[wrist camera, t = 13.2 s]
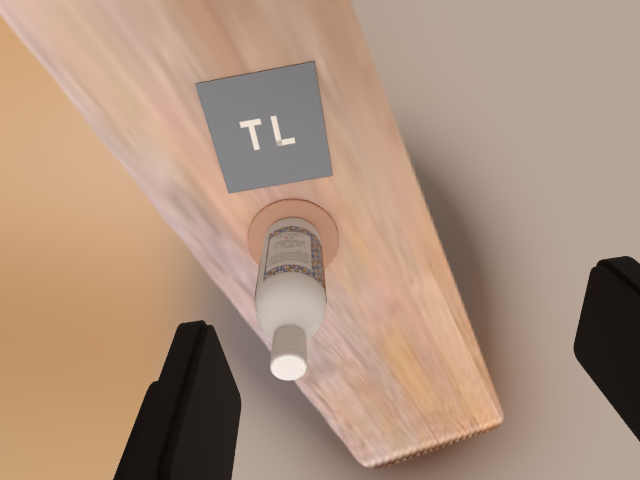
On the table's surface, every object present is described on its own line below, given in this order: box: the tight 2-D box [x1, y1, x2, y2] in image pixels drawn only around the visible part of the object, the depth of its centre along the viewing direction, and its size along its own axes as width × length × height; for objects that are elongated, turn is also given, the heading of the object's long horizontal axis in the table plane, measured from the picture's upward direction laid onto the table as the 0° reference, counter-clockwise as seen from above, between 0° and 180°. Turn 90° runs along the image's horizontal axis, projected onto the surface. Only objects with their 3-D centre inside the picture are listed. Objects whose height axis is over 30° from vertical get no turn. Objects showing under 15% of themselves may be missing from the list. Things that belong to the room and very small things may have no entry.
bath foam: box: [255, 218, 327, 380], centre depth 41 cm, size 7×7×20 cm
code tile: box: [195, 62, 333, 193], centre depth 44 cm, size 12×12×1 cm
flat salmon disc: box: [248, 199, 339, 269], centre depth 50 cm, size 11×11×1 cm
